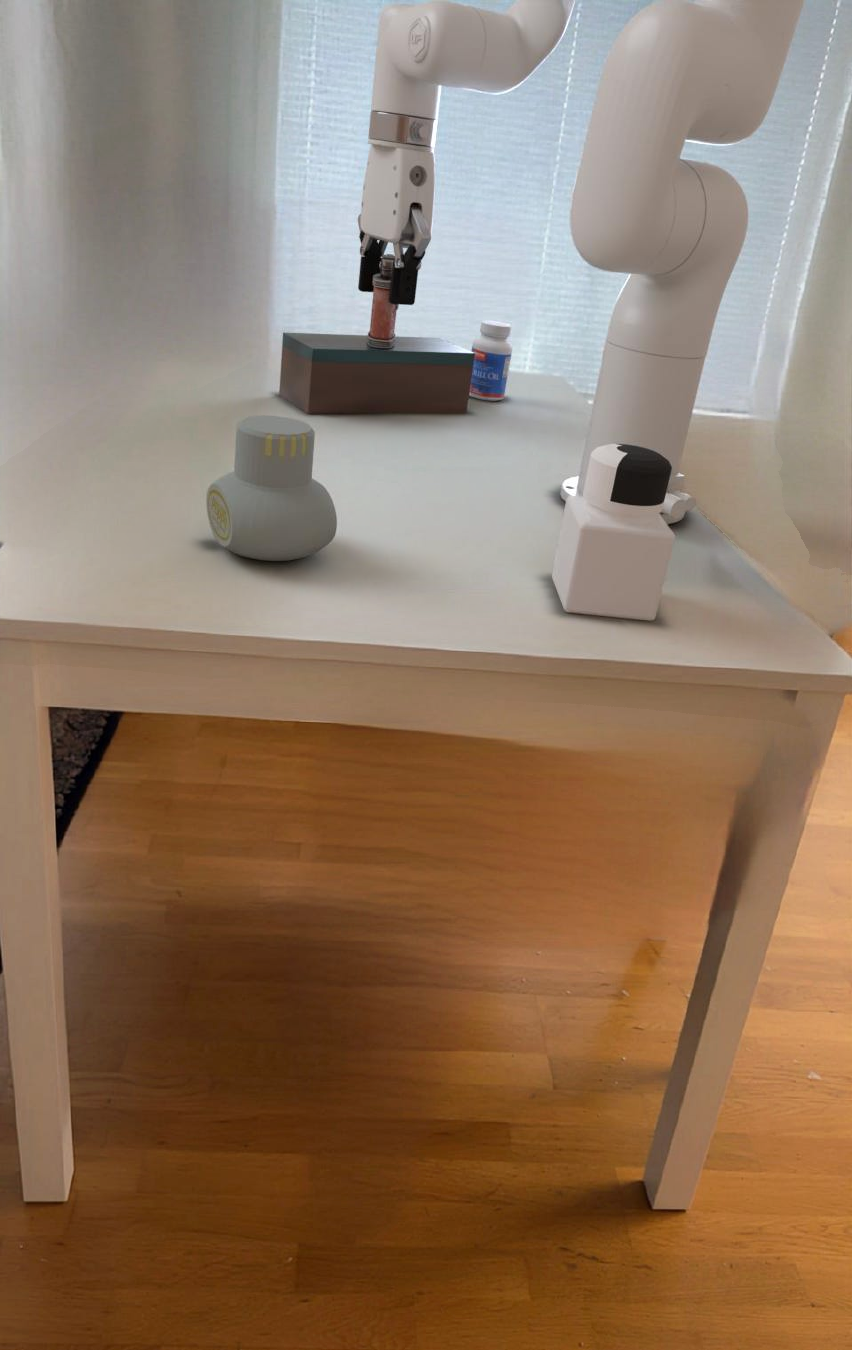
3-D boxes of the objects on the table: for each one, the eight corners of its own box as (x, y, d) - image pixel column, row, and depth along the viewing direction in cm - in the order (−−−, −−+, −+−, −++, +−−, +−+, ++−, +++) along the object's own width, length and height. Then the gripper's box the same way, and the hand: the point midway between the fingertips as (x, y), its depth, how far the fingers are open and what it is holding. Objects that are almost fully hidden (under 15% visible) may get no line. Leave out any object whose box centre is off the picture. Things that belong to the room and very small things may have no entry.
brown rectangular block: (466, 413, 136) (475, 353, 133) (308, 414, 125) (312, 348, 122) (432, 395, 143) (439, 338, 139) (279, 394, 132) (282, 332, 129)
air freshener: (342, 573, 82) (354, 445, 78) (237, 578, 79) (244, 445, 74) (295, 524, 91) (303, 407, 86) (199, 527, 87) (202, 405, 83)
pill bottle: (460, 396, 144) (470, 321, 140) (470, 389, 149) (480, 317, 145) (499, 403, 143) (511, 329, 139) (508, 397, 148) (519, 324, 144)
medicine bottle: (635, 587, 87) (668, 443, 82) (655, 622, 81) (692, 469, 76) (550, 578, 87) (578, 432, 81) (563, 613, 80) (594, 458, 75)
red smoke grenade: (393, 349, 127) (402, 260, 122) (364, 345, 127) (373, 256, 122) (396, 338, 134) (404, 254, 130) (369, 335, 134) (377, 250, 130)
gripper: (470, 144, 116) (448, 313, 123) (395, 133, 129) (380, 287, 137) (409, 135, 112) (391, 310, 120) (339, 125, 125) (327, 284, 133)
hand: (385, 296), depth 128 cm, fingers closed on red smoke grenade, 7 cm apart
